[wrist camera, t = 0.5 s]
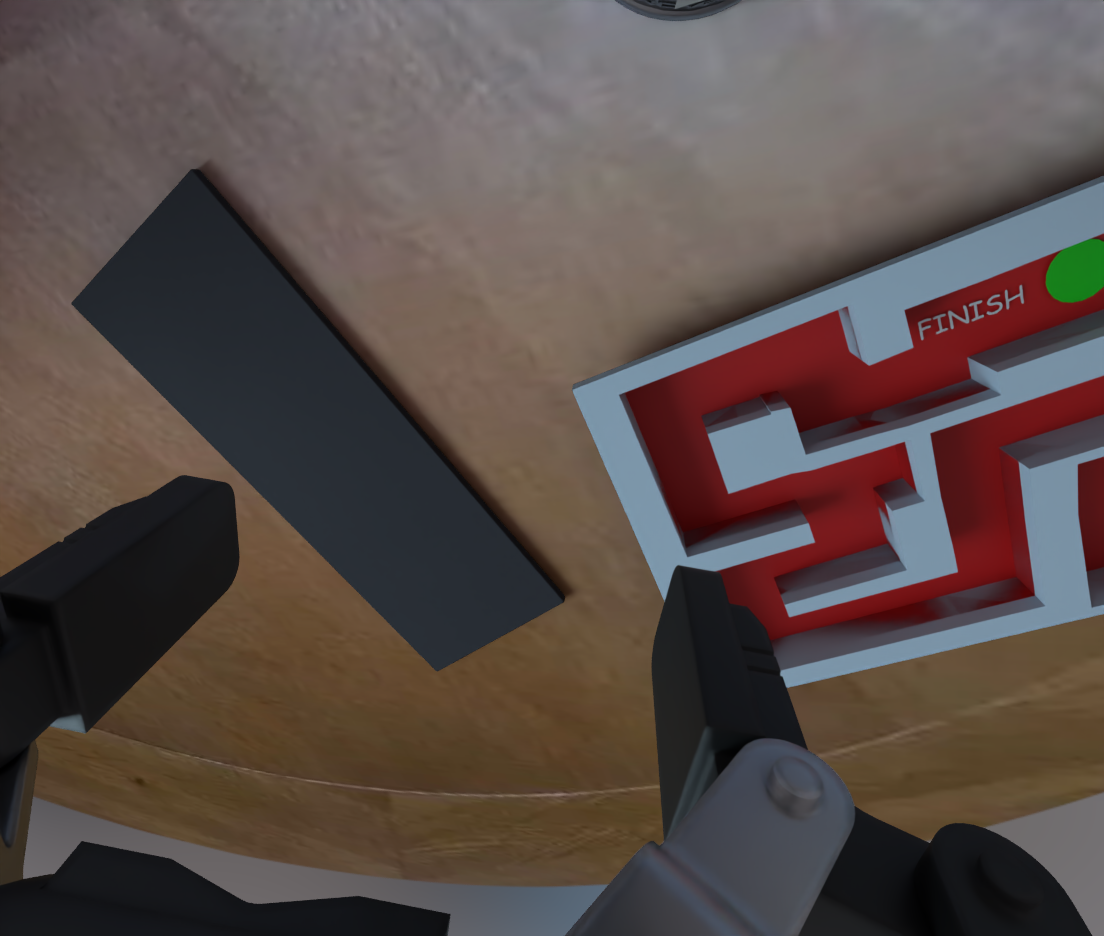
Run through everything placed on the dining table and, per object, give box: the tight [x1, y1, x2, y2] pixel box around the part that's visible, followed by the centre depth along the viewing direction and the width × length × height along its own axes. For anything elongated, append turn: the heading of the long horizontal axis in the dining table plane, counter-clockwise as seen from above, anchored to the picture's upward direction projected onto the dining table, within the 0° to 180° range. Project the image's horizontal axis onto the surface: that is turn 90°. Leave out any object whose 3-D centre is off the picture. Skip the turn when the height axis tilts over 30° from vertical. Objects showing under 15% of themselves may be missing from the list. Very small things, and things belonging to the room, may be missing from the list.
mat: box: [71, 169, 565, 671], centre depth 33 cm, size 28×10×1 cm, turn 37°
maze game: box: [572, 176, 1104, 688], centre depth 27 cm, size 35×20×3 cm, turn 114°
